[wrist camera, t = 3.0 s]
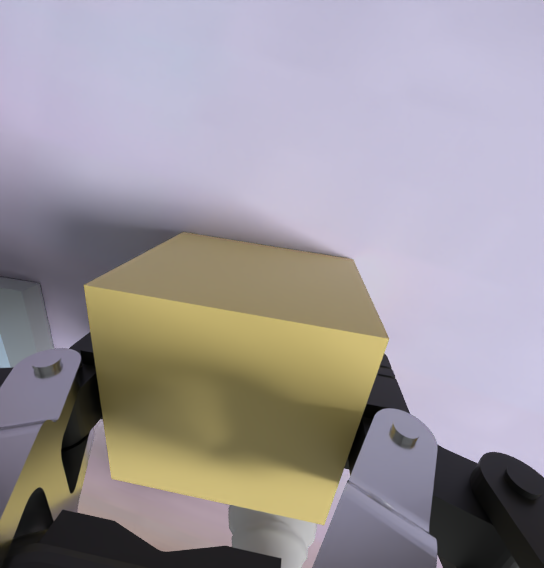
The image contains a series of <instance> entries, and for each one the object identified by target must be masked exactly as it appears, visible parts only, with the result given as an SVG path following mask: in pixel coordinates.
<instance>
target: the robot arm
mask: <svg viewBox="0 0 544 568" xmlns="http://www.w3.org/2000/svg"><path fill="white" fill-rule="evenodd" d="M100 419H103V416H102V409H101V402H100V395H99V388H98V381H97V374H96V367H95V360H94V353H93V346H92V339H91V332H90V333H88V334H87V335H86V336H84V337H83V338H82V339H80V340H79V341H78V342H76V343H75V344H74V345H73V346H71V347H70V348H69V349H68V348H55V349H48V350H44V351H41V352H38V353H35V354H32V355H30V356H28V357H26V358H25V359H23V360H22V361H20V362H19V363H18V364H17V365H16V366H15V367H10V368H0V568H281V560H282V558H278V557H274V556H269V555H265V554H260V553H256V552H251V551H247V550H242V549H238V548H233V547H229V546H219V547H210V548H200V549H191V550H181V551H171V552H163V551H160V550H158V549H156V548H154V547H153V546H151V545H150V544H148V543H147V542H145V541H144V540H142V539H141V538H139V537H138V536H136V535H135V534H133V533H132V532H130V531H129V530H127V529H126V528H124V527H123V526H121V525H120V524H118V523H117V522H115V521H112V520H108V519H103V518H99V517H94V516H90V515H85V514H81V513H77V512H78V503H79V498H80V494H81V490H82V486H83V481H84V477H85V473H86V469H87V465H88V460H89V456H90V452H91V448H92V444H93V439H94V428H93V427H94V426H95V425H96V423H97V422H98V421H99V420H100ZM344 468H345V469H349V470H350V478H349V480H348V481H347V483H346V486H345V488H344V491H343V493H342V495H341V498H340V500H339V503H338V505H337V508H336V510H335V513H334V515H333V518H332V520H331V523H330V525H329V528H328V530H327V533H326V535H325V538H324V540H323V543H322V545H321V548H320V550H319V552H318V555H317V557H316V560H315V562H314V565H313V567H312V568H436V565H437V555H438V557H439V559H440V561H441V564H442V566H443V568H544V478H543V477H542V476H541V475H540V474H539V473H538V472H536V471H535V470H534V469H532V468H531V467H530V466H528V465H527V464H525V463H523V462H522V461H520V460H518V459H516V458H514V457H511V456H509V455H506V454H502V453H497V452H489V453H486V454H484V455H483V456H482V457H481V459H480V460H479V462H478V463H475V462H473V461H471V460H469V459H466V458H464V457H462V456H460V455H457V454H455V453H453V452H451V451H448V450H446V449H444V448H442V447H441V446H439V445H437V442H436V439H435V437H434V435H433V434H432V432H431V431H430V430H429V428H428V427H427V426H426V425H425V424H424V423H423V422H421V421H420V420H419V419H418V418H416V417H415V416H413V415H411V414H410V413H409V410H408V408H407V405H406V403H405V400H404V398H403V395H402V393H401V390H400V388H399V385H398V383H397V380H396V379H395V375H394V373H393V370H392V369H391V365H390V363H389V360H388V358H387V356H386V355H385V354H384V355H383V358H382V361H381V364H380V367H379V369H378V372H377V375H376V378H375V381H374V384H373V387H372V389H371V392H370V395H369V398H368V401H367V404H366V407H365V410H364V412H363V415H362V418H361V421H360V424H359V427H358V430H357V432H356V435H355V438H354V441H353V444H352V447H351V450H350V452H349V455H348V458H347V461H346V464H345V467H344Z"/></svg>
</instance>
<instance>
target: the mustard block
mask: <svg viewBox="0 0 544 568" xmlns="http://www.w3.org/2000/svg"><path fill="white" fill-rule="evenodd" d="M84 291H85V298H86V305H87V312H88V319H89V326H90V332H91V339H92V346H93V353H94V360H95V367H96V374H97V381H98V388H99V395H100V402H101V409H102V416H103V423H104V430H105V437H106V444H107V450H108V457H109V464H110V471H111V478H112V479H115V480H119V481H124V482H129V483H133V484H138V485H142V486H147V487H151V488H156V489H161V490H165V491H170V492H174V493H179V494H183V495H188V496H193V497H197V498H202V499H206V500H211V501H215V502H220V503H225V504H229V505H234V506H238V507H243V508H248V509H252V510H257V511H261V512H266V513H270V514H275V515H280V516H284V517H289V518H293V519H298V520H302V521H307V522H312V523H316V524H321V525H324V524H325V521H326V518H327V515H328V513H329V510H330V507H331V504H332V501H333V498H334V495H335V493H336V490H337V487H338V484H339V481H340V478H341V475H342V473H343V470H344V467H345V464H346V461H347V458H348V455H349V452H350V450H351V447H352V444H353V441H354V438H355V435H356V432H357V430H358V427H359V424H360V421H361V418H362V415H363V412H364V410H365V407H366V404H367V401H368V398H369V395H370V392H371V389H372V387H373V384H374V381H375V378H376V375H377V372H378V369H379V367H380V364H381V361H382V358H383V355H384V352H385V349H386V347H387V344H388V341H389V337H388V335H387V333H386V331H385V329H384V326H383V324H382V322H381V320H380V318H379V315H378V313H377V311H376V309H375V307H374V304H373V302H372V300H371V298H370V296H369V293H368V291H367V289H366V287H365V285H364V282H363V280H362V278H361V276H360V274H359V271H358V269H357V267H356V265H355V263H354V260H353V259H348V258H342V257H336V256H330V255H323V254H317V253H311V252H305V251H299V250H292V249H286V248H280V247H274V246H267V245H261V244H255V243H249V242H243V241H236V240H230V239H224V238H218V237H211V236H205V235H199V234H193V233H187V232H182V233H180V234H178V235H177V236H175V237H173V238H171V239H169V240H167V241H165V242H163V243H162V244H160V245H158V246H156V247H154V248H152V249H150V250H148V251H146V252H145V253H143V254H141V255H139V256H137V257H135V258H133V259H131V260H130V261H128V262H126V263H124V264H122V265H120V266H118V267H116V268H115V269H113V270H111V271H109V272H107V273H105V274H103V275H101V276H100V277H98V278H96V279H94V280H92V281H90V282H88V283H86V284H85V285H84Z"/></svg>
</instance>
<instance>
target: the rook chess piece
mask: <svg viewBox="0 0 544 568" xmlns="http://www.w3.org/2000/svg"><path fill="white" fill-rule="evenodd" d="M229 528H230V530H231V532H232V534H233V536H232V547H233V548H238V549H242V550H247V551H251V552H256V553H260V554H265V555H269V556H274V557H278V558H282V560H281V568H302V564H303V562H304V561H305V560H306V559H307V555H308V547H309V546H310V545H311V544H312V543H313V542H314V539H315V534H316V529H317V524H316V523H312V522H307V521H302V520H298V519H293V518H289V517H284V516H280V515H275V514H270V513H266V512H261V511H257V510H252V509H248V508H243V507H238V506H234V505H230V507H229Z"/></svg>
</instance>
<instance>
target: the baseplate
mask: <svg viewBox="0 0 544 568" xmlns="http://www.w3.org/2000/svg"><path fill="white" fill-rule="evenodd" d="M48 349H54V346H53V341H52V337H51V332H50V328H49V323H48V319H47V314H46V310H45V305H44V301H43V297H42V292H41V288H40V283H35V282H29V281H23V280H17V279H11V278H5V277H0V368H10V367H15V366H16V365H17V364H18V363H19V362H20V361H22V360H23V359H25V358H26V357H28V356H30V355H32V354H35V353H38V352H41V351H44V350H48Z"/></svg>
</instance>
